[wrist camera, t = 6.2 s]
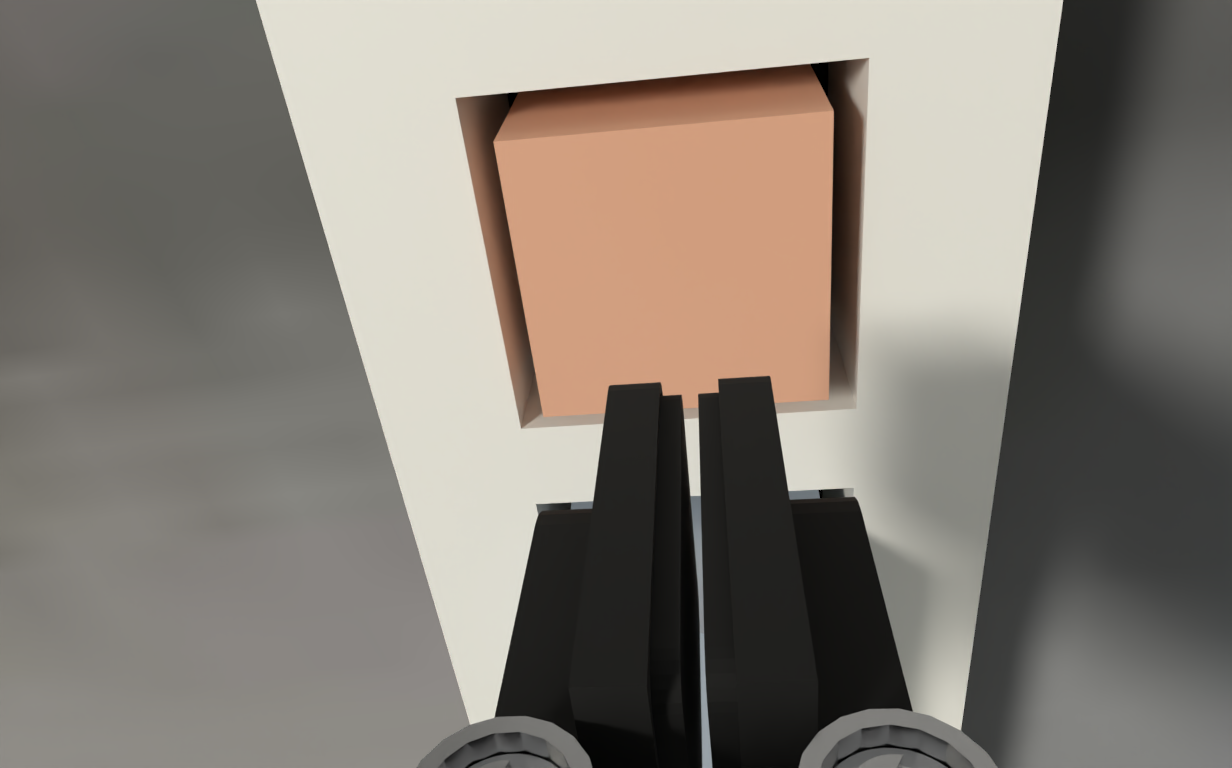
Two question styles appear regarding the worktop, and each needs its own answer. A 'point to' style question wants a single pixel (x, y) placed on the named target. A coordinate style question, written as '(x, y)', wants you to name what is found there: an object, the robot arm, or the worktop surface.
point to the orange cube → (673, 233)
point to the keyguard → (570, 445)
